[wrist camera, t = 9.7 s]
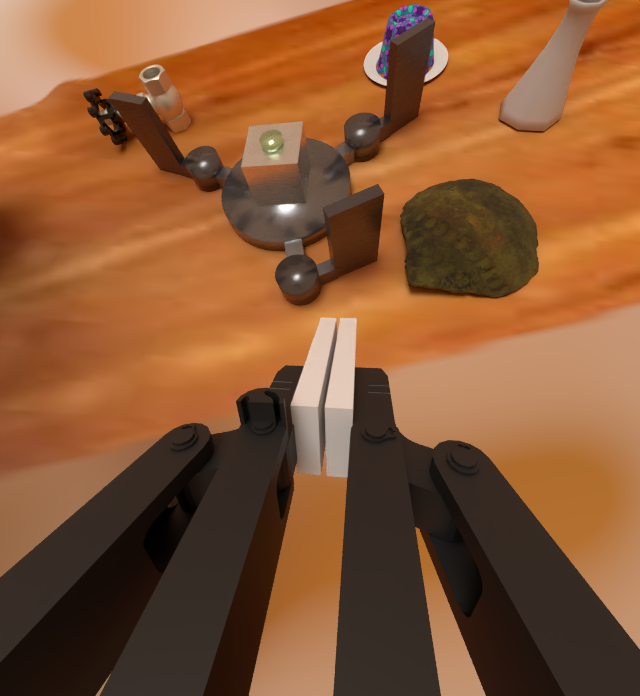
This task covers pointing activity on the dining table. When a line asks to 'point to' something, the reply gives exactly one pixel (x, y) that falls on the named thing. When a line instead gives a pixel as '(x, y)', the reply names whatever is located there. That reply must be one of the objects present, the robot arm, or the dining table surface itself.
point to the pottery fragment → (469, 239)
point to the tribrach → (290, 156)
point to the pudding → (395, 27)
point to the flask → (550, 72)
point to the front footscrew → (336, 246)
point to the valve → (159, 96)
